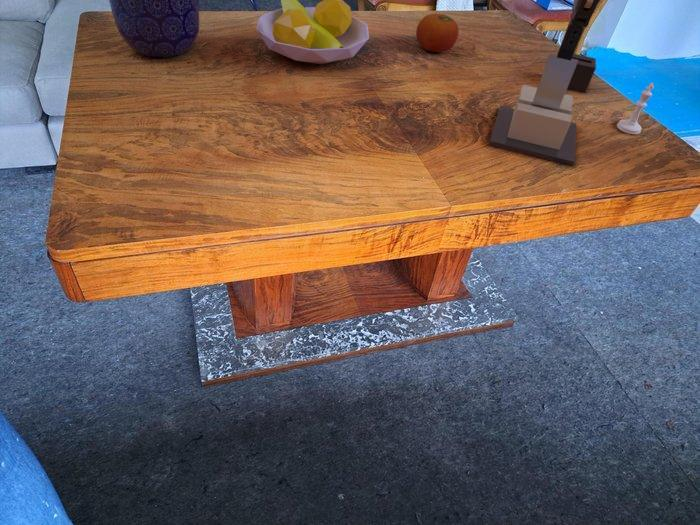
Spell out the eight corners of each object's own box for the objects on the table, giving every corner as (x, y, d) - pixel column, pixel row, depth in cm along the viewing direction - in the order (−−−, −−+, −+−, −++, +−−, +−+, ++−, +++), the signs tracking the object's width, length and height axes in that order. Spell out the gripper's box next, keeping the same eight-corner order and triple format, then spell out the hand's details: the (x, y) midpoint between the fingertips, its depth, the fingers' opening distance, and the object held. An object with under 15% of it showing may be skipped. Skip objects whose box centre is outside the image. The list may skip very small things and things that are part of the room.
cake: (561, 123, 105) (572, 95, 101) (560, 139, 101) (572, 111, 96) (513, 111, 107) (522, 84, 103) (509, 126, 102) (519, 99, 98)
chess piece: (645, 133, 108) (670, 88, 101) (627, 135, 106) (651, 90, 99) (629, 121, 111) (652, 77, 104) (611, 123, 109) (633, 79, 102)
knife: (557, 110, 97) (595, 16, 85) (557, 114, 96) (595, 20, 84) (531, 103, 98) (564, 11, 86) (530, 108, 97) (564, 14, 85)
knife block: (585, 82, 124) (595, 58, 119) (585, 92, 119) (596, 67, 115) (552, 75, 125) (561, 51, 121) (550, 85, 121) (560, 60, 117)
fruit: (405, 43, 132) (411, 11, 126) (437, 39, 136) (444, 7, 130) (430, 60, 125) (436, 26, 120) (462, 54, 129) (470, 22, 124)
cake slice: (559, 142, 99) (571, 114, 95) (559, 150, 97) (571, 122, 93) (508, 130, 101) (518, 102, 97) (507, 137, 99) (516, 109, 95)
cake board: (574, 127, 107) (576, 123, 106) (572, 166, 96) (574, 161, 95) (499, 109, 110) (500, 105, 109) (488, 145, 98) (490, 140, 98)
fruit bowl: (384, 71, 118) (391, 20, 110) (269, 79, 110) (268, 25, 102) (345, 26, 137) (349, -21, 129) (244, 30, 129) (241, -19, 121)
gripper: (642, -57, 71) (590, 65, 83) (636, -74, 81) (590, 37, 93) (587, -66, 73) (544, 55, 85) (587, -82, 82) (549, 28, 94)
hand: (568, 45), depth 89 cm, fingers closed on knife, 2 cm apart
